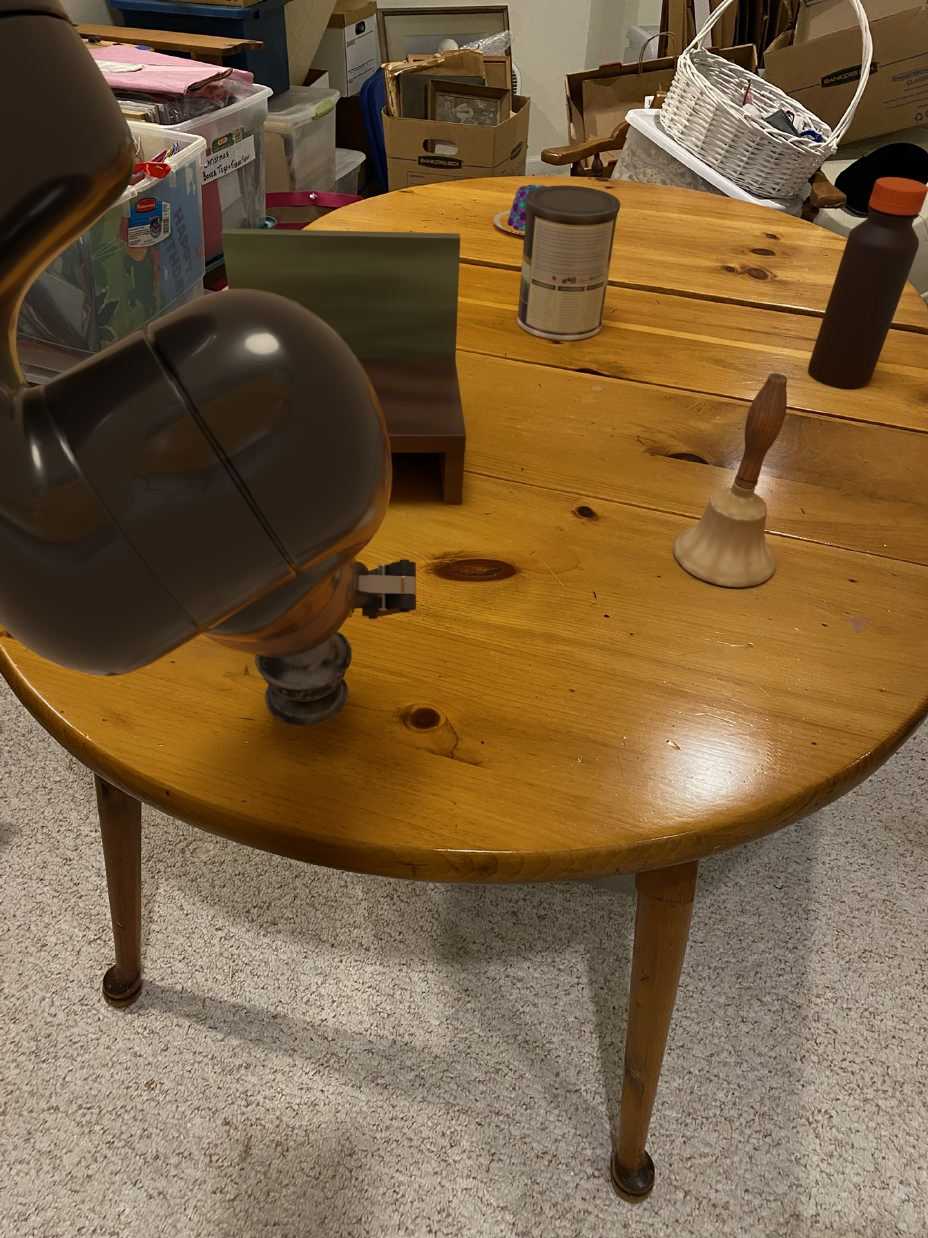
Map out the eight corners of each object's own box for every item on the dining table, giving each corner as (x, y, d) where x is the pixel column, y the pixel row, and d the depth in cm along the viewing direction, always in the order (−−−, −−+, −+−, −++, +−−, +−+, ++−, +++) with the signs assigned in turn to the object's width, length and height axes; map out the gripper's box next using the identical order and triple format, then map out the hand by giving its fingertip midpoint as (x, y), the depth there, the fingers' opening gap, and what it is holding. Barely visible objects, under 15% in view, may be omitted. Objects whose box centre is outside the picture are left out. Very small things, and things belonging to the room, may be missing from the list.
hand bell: (713, 516, 80) (759, 341, 70) (795, 562, 76) (858, 382, 65) (652, 551, 76) (692, 371, 65) (735, 602, 71) (792, 417, 61)
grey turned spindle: (366, 675, 60) (363, 524, 53) (332, 739, 56) (323, 585, 48) (283, 655, 61) (268, 504, 54) (244, 716, 57) (221, 562, 49)
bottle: (873, 393, 100) (945, 197, 87) (809, 384, 100) (870, 190, 87) (866, 366, 105) (932, 177, 92) (804, 358, 105) (861, 170, 92)
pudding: (568, 245, 130) (572, 206, 127) (485, 235, 132) (487, 196, 129) (579, 219, 139) (584, 182, 136) (502, 210, 141) (504, 173, 138)
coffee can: (499, 315, 111) (507, 191, 102) (567, 300, 115) (581, 180, 106) (550, 348, 105) (564, 219, 95) (620, 331, 109) (640, 206, 100)
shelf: (462, 507, 80) (472, 303, 68) (226, 507, 78) (195, 298, 66) (452, 420, 91) (459, 232, 79) (246, 419, 89) (222, 227, 78)
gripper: (431, 481, 40) (418, 542, 57) (97, 478, 39) (185, 542, 56) (432, 653, 40) (419, 663, 57) (94, 656, 38) (184, 665, 56)
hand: (302, 602), depth 56 cm, fingers closed on grey turned spindle, 3 cm apart
